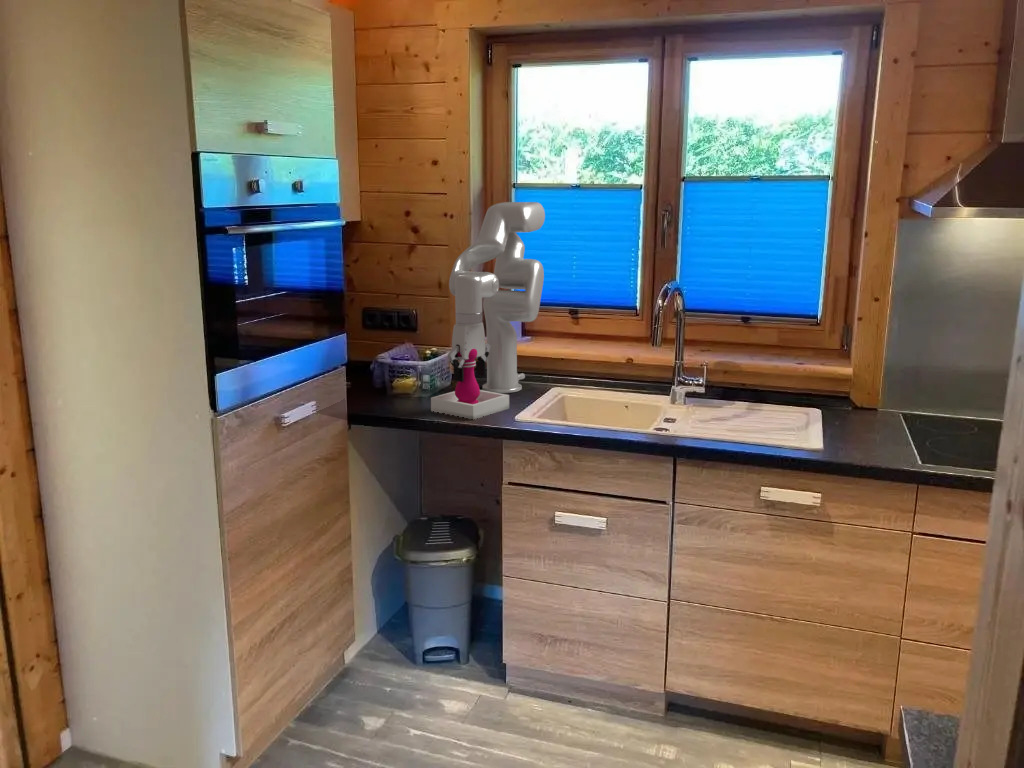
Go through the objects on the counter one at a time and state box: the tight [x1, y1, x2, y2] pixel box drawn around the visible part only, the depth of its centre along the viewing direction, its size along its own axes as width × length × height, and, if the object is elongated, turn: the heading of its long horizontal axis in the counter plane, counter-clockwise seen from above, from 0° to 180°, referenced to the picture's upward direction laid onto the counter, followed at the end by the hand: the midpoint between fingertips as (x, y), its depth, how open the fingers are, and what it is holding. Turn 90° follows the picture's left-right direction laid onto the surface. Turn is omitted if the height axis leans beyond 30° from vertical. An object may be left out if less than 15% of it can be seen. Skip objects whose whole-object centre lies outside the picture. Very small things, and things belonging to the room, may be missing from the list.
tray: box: [430, 389, 510, 421], centre depth 241 cm, size 16×16×4 cm
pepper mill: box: [454, 349, 481, 404], centre depth 238 cm, size 7×7×20 cm
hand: (470, 377), depth 239 cm, fingers open, 9 cm apart
